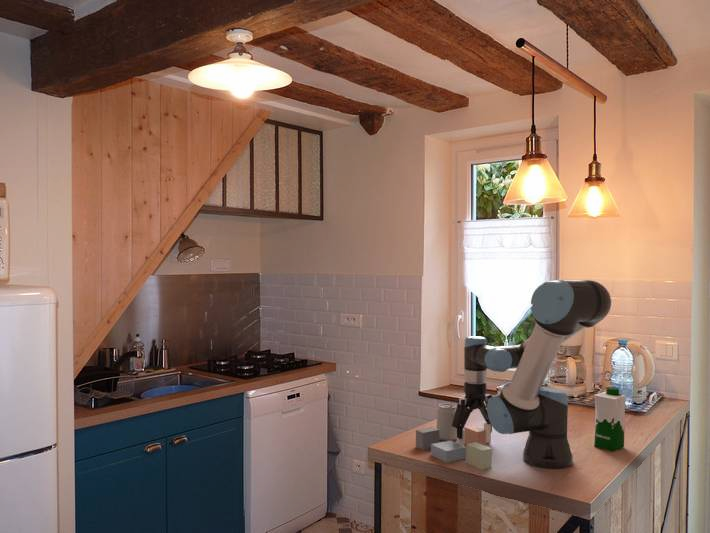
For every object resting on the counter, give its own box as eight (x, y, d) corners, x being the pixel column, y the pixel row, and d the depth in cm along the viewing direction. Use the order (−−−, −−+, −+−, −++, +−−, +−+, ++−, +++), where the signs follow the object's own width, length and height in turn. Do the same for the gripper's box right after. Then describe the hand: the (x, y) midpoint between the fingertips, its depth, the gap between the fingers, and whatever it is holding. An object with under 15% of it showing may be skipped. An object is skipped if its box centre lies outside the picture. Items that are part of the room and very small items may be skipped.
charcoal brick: (431, 444, 209) (432, 426, 209) (439, 447, 206) (439, 429, 206) (415, 447, 205) (415, 429, 205) (422, 450, 202) (423, 432, 202)
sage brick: (491, 467, 186) (491, 448, 186) (481, 469, 184) (482, 450, 184) (475, 460, 192) (476, 442, 192) (466, 463, 190) (466, 444, 190)
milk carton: (627, 447, 206) (628, 389, 206) (614, 453, 200) (615, 393, 200) (603, 441, 213) (604, 385, 212) (590, 446, 207) (590, 388, 206)
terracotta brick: (486, 447, 205) (486, 430, 205) (477, 449, 203) (477, 432, 203) (472, 442, 211) (472, 425, 211) (463, 444, 209) (463, 426, 209)
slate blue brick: (466, 459, 194) (466, 447, 194) (446, 463, 190) (446, 451, 190) (450, 452, 201) (450, 440, 201) (431, 456, 197) (431, 444, 197)
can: (457, 442, 211) (457, 408, 210) (435, 441, 212) (436, 407, 212) (458, 436, 218) (458, 403, 218) (437, 434, 220) (437, 402, 219)
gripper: (492, 376, 216) (491, 436, 217) (441, 383, 204) (440, 447, 205) (507, 380, 210) (507, 442, 210) (456, 387, 198) (455, 453, 198)
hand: (474, 445), depth 207 cm, fingers open, 11 cm apart
